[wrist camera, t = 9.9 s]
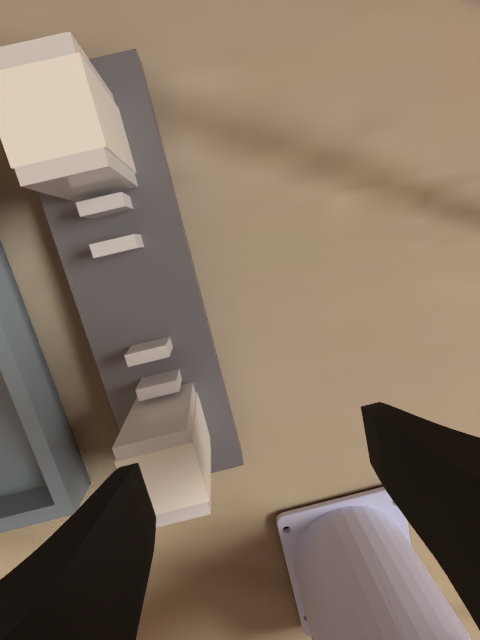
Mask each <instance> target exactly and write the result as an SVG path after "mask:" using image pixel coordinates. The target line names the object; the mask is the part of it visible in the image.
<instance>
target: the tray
mask: <svg viewBox="0 0 480 640" xmlns="http://www.w3.org/2000/svg"><path fill="white" fill-rule="evenodd" d="M90 483H91V482H90V480H89V477H88V474H87V471H86V469H85V466H84V463H83V461H82V458H81V455H80V453H79V450H78V447H77V445H76V442H75V439H74V437H73V434H72V431H71V429H70V426H69V423H68V420H67V418H66V415H65V412H64V410H63V407H62V404H61V402H60V399H59V396H58V394H57V391H56V388H55V386H54V383H53V380H52V378H51V375H50V372H49V369H48V367H47V364H46V361H45V359H44V356H43V353H42V351H41V348H40V345H39V343H38V340H37V337H36V335H35V332H34V329H33V327H32V324H31V321H30V318H29V316H28V313H27V310H26V308H25V305H24V302H23V300H22V297H21V294H20V292H19V289H18V286H17V284H16V281H15V278H14V276H13V273H12V270H11V267H10V265H9V262H8V259H7V257H6V254H5V251H4V249H3V246H2V243H1V241H0V533H1V532H5V531H9V530H13V529H17V528H21V527H25V526H29V525H33V524H37V523H41V522H45V521H49V520H53V519H57V518H61V517H65V516H69V515H73V514H74V513H75V512H76V511H77V509H78V507H79V505H80V503H81V501H82V499H83V497H84V495H85V493H86V491H87V489H88V487H89V485H90Z"/></svg>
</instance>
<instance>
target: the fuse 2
mask: <svg viewBox="0 0 480 640" xmlns="http://www.w3.org/2000/svg"><path fill="white" fill-rule="evenodd" d="M112 450H113V453H114V456H115V461H114V463H115V466H116V469H118V468H119V467H122V466H126V465H130V464H134V463H138V464H139V467H140V470H141V473H142V476H143V479H144V482H145V485H146V488H147V491H148V494H149V496H150V499H151V502H152V505H153V508H154V511H155V514H156V528H158V527H162V526H165V525H169V524H173V523H177V522H181V521H185V520H189V519H193V518H197V517H201V516H205V515H209V514H211V446H210V435H209V432H208V428H207V424H206V421H205V417H204V414H203V410H202V406H201V403H200V399H199V396H198V392H195V388H194V385H193V382H191V383H187V384H183V385H181V387H180V391H179V392H175V393H171V394H167V395H163V396H159V397H155V398H151V399H147V400H143V401H139V400H138V397H136V399H135V401H134V404H133V406H132V408H131V410H130V412H129V414H128V416H127V418H126V420H125V422H124V424H123V426H122V429H121V431H120V433H119V435H118V437H117V439H116V441H115V443H114V445H113V447H112Z"/></svg>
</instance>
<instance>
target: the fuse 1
mask: <svg viewBox="0 0 480 640" xmlns="http://www.w3.org/2000/svg"><path fill="white" fill-rule="evenodd" d="M0 138H1V141H2V144H3V147H4V150H5V153H6V155H7V158H8V161H9V164H10V167H11V169H14V170H15V172H16V175H17V178H18V180H19V183H20V186H21V187H24V188H27V189H31V190H35V191H38V192H42V193H45V194H49V195H53V196H56V197H60V198H63V199H67V200H71V201H74V202H77V201H81V200H85V199H89V198H94V197H98V196H102V195H107V194H111V193H115V192H119V191H124V190H128V189H132V188H137V187H138V184H137V180H136V177H135V174H136V173H137V172H136V169H135V165H134V161H133V158H132V154H131V151H130V147H129V143H128V140H127V136H126V133H125V129H124V125H123V122H122V118H121V115H120V111H119V108H118V106H117V105H116V104H115V102H114V98H113V94H112V93H111V91H110V90H109V88H108V87H107V85H106V84H105V82H104V81H103V80H102V78H101V77H100V75H99V74H98V72H97V71H96V69H95V68H94V66H93V65H92V63H91V62H90V61H89V59H88V58H87V56H86V55H85V53H84V52H83V50H82V49H81V47H80V46H79V44H78V43H77V42H76V40H75V39H74V37H73V36H72V34H71V33H70V32H65V33H61V34H56V35H52V36H47V37H43V38H38V39H34V40H29V41H25V42H20V43H16V44H11V45H7V46H3V47H0Z"/></svg>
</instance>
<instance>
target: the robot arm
mask: <svg viewBox="0 0 480 640" xmlns="http://www.w3.org/2000/svg"><path fill="white" fill-rule="evenodd" d="M361 410H362V416H363V422H364V428H365V434H366V440H367V445H368V451H369V457H370V463H371V465H372V467H373V468H374V470H375V472H376V474H377V476H378V478H379V479H380V481H381V483H382V485H383V486H384V487H380V488H376V489H372V490H368V491H364V492H360V493H357V494H353V495H349V496H345V497H341V498H337V499H333V500H329V501H325V502H321V503H317V504H314V505H310V506H306V507H302V508H298V509H294V510H290V511H286V512H282V513H280V514H279V515H278V516H277V518H276V523H277V527H278V531H279V535H280V539H281V543H282V547H283V552H284V556H285V560H286V564H287V568H288V572H289V576H290V580H291V584H292V588H293V592H294V596H295V600H296V604H297V608H298V612H299V617H300V621H301V625H302V629H303V632H304V633H305V634H308V635H311V638H312V640H472V639H471V637H470V635H469V634H468V632H467V631H466V629H465V628H464V626H463V625H462V623H461V622H460V620H459V619H458V617H457V615H456V614H455V612H454V611H453V609H452V608H451V606H450V605H449V603H448V602H447V600H446V599H445V597H444V595H443V594H442V592H441V591H440V589H439V588H438V586H437V585H436V583H435V582H434V580H433V579H432V577H431V576H430V574H429V572H428V571H427V569H426V568H425V566H424V565H423V563H422V562H421V560H420V559H419V557H418V556H417V554H416V552H415V551H414V549H413V548H412V546H411V543H410V536H409V530H408V523H407V520H408V522H409V523H410V524H411V526H412V527H413V528H414V530H415V531H416V533H417V534H418V535H419V537H420V538H421V539H422V541H423V542H424V543H425V545H426V546H427V547H428V549H429V550H430V551H431V553H432V554H433V556H434V557H435V558H436V560H437V561H438V563H439V564H440V566H441V567H442V569H443V570H444V572H445V573H446V575H447V577H448V578H449V580H450V581H451V583H452V585H453V586H454V588H455V590H456V591H457V593H458V595H459V596H460V598H461V600H462V601H463V603H464V604H465V606H466V608H467V609H468V611H469V613H470V615H471V616H472V618H473V620H474V621H475V623H476V625H477V626H478V628H479V630H480V438H479V437H475V436H472V435H469V434H466V433H463V432H459V431H456V430H453V429H450V428H447V427H444V426H442V425H439V424H436V423H433V422H431V421H428V420H425V419H423V418H420V417H418V416H415V415H413V414H410V413H408V412H405V411H403V410H400V409H398V408H395V407H393V406H390V405H387V404H384V403H381V402H378V403H374V404H370V405H366V406H362V407H361ZM284 527H288V528H287V529H283V528H284ZM155 531H156V514H155V511H154V508H153V505H152V502H151V499H150V496H149V494H148V491H147V488H146V485H145V482H144V479H143V476H142V473H141V470H140V467H139V464H138V463H134V464H130V465H126V466H122V467H119V468H118V469H117V470H115V471H114V472H113V473H112V474H111V475H110V476H109V477H108V478H107V479H106V480H105V481H104V482H103V484H102V485H101V486H100V487H99V488H98V489H97V490H96V491H95V492H94V493H93V494H92V495H91V496H90V497H89V498H88V499H87V500H86V502H85V503H84V504H83V505H82V506H81V507H80V508H79V509H78V510H77V511H76V512H75V513H74V514H73V515H72V516H71V517H70V518H69V519H68V520H67V521H66V522H65V523H64V524H63V525H62V526H61V527H60V528H59V529H58V530H57V531H56V532H55V533H54V534H53V535H52V536H51V537H50V538H49V539H48V540H46V541H45V542H44V543H43V544H42V545H41V546H40V547H39V548H38V549H37V550H35V551H34V552H33V553H32V554H31V555H30V556H29V557H27V558H26V559H25V560H24V561H23V562H21V563H20V564H19V565H18V566H17V567H16V568H14V569H13V570H12V571H11V572H10V573H8V574H7V575H6V576H5V577H3V578H2V579H1V580H0V640H136V635H137V630H138V625H139V620H140V616H141V611H142V606H143V601H144V597H145V592H146V587H147V582H148V577H149V572H150V568H151V563H152V557H153V552H154V543H155Z"/></svg>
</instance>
